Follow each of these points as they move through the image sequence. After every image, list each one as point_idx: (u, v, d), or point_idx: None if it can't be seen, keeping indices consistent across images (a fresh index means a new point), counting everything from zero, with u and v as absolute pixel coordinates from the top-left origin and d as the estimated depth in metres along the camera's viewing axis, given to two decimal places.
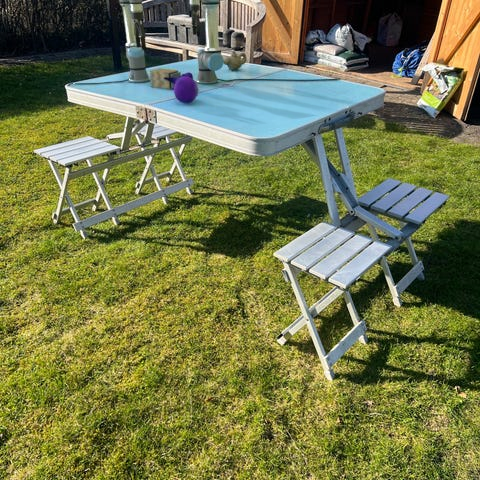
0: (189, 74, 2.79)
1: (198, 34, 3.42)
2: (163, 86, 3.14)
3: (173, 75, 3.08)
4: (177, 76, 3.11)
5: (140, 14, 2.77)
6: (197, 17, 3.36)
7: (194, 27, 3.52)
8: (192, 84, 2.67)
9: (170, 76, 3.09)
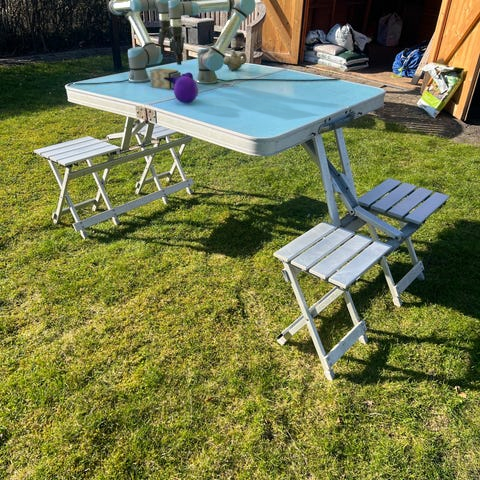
0: (189, 74, 2.79)
1: (162, 52, 3.16)
2: (163, 86, 3.14)
3: (173, 75, 3.08)
4: (177, 76, 3.11)
5: None
6: (160, 34, 3.10)
7: None
8: (192, 84, 2.67)
9: (170, 76, 3.09)
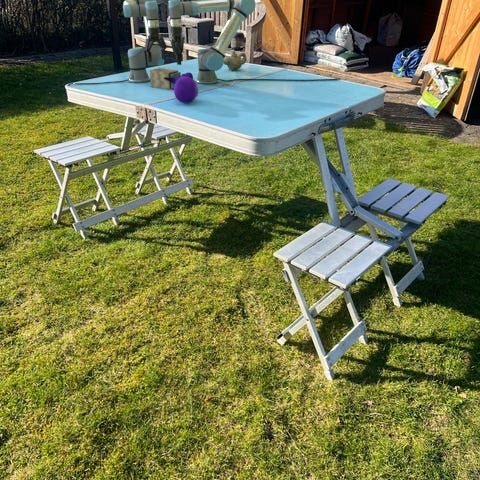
0: (189, 74, 2.79)
1: (149, 59, 3.08)
2: (163, 86, 3.14)
3: (173, 75, 3.08)
4: (177, 76, 3.11)
5: None
6: (147, 41, 3.02)
7: (162, 51, 3.16)
8: (192, 84, 2.67)
9: (170, 76, 3.09)
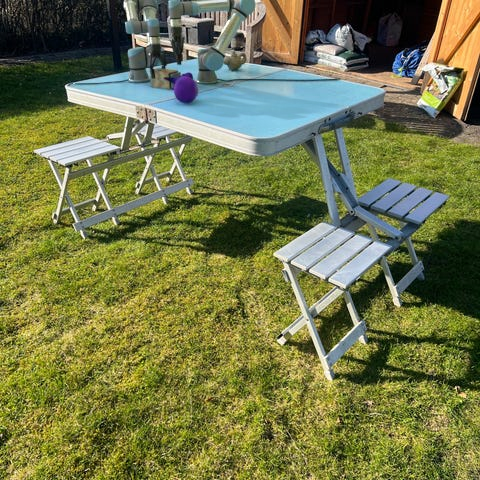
0: (189, 74, 2.79)
1: (152, 76, 3.15)
2: (163, 86, 3.14)
3: (173, 75, 3.08)
4: (177, 76, 3.11)
5: None
6: (149, 58, 3.08)
7: (163, 68, 3.21)
8: (192, 84, 2.67)
9: (170, 76, 3.09)
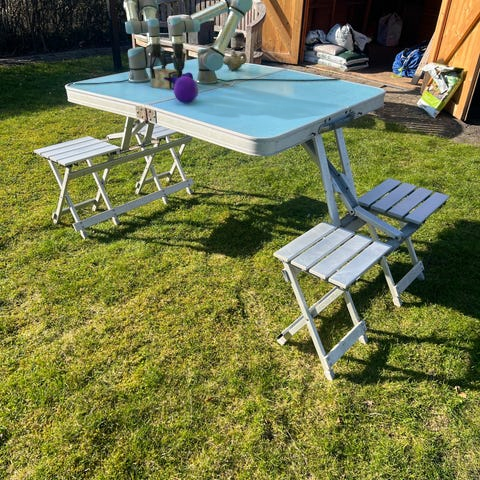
0: (189, 74, 2.79)
1: (152, 76, 3.15)
2: (163, 86, 3.14)
3: (173, 75, 3.08)
4: (177, 76, 3.11)
5: None
6: (149, 58, 3.08)
7: (163, 68, 3.21)
8: (192, 84, 2.67)
9: (170, 76, 3.09)
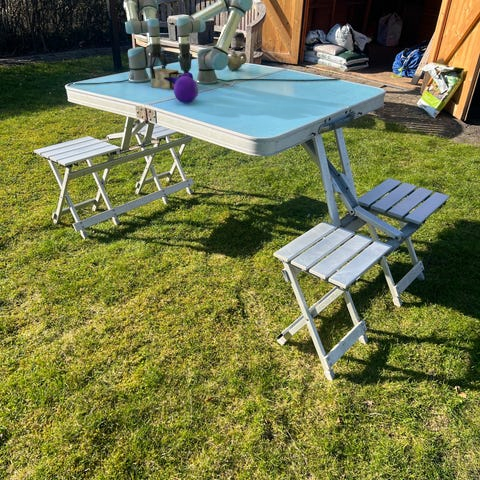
0: (189, 74, 2.79)
1: (152, 76, 3.15)
2: (163, 86, 3.14)
3: (180, 76, 3.05)
4: None
5: None
6: (149, 58, 3.08)
7: (163, 68, 3.21)
8: (192, 84, 2.67)
9: None
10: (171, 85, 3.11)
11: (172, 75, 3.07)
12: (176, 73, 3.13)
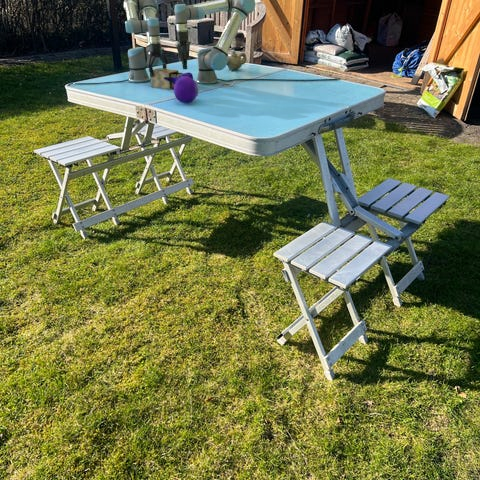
0: (189, 74, 2.79)
1: (151, 74, 3.13)
2: (163, 86, 3.14)
3: (180, 76, 3.05)
4: None
5: None
6: (148, 57, 3.07)
7: (164, 66, 3.21)
8: (192, 84, 2.67)
9: None
10: (171, 85, 3.11)
11: (172, 75, 3.07)
12: (176, 73, 3.13)
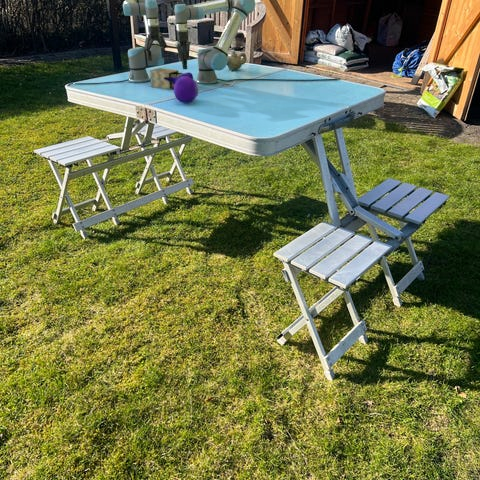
0: (189, 74, 2.79)
1: (149, 58, 3.08)
2: (163, 86, 3.14)
3: (180, 76, 3.05)
4: None
5: None
6: (146, 40, 3.02)
7: (162, 50, 3.15)
8: (192, 84, 2.67)
9: None
10: (171, 85, 3.11)
11: (172, 75, 3.07)
12: (176, 73, 3.13)
